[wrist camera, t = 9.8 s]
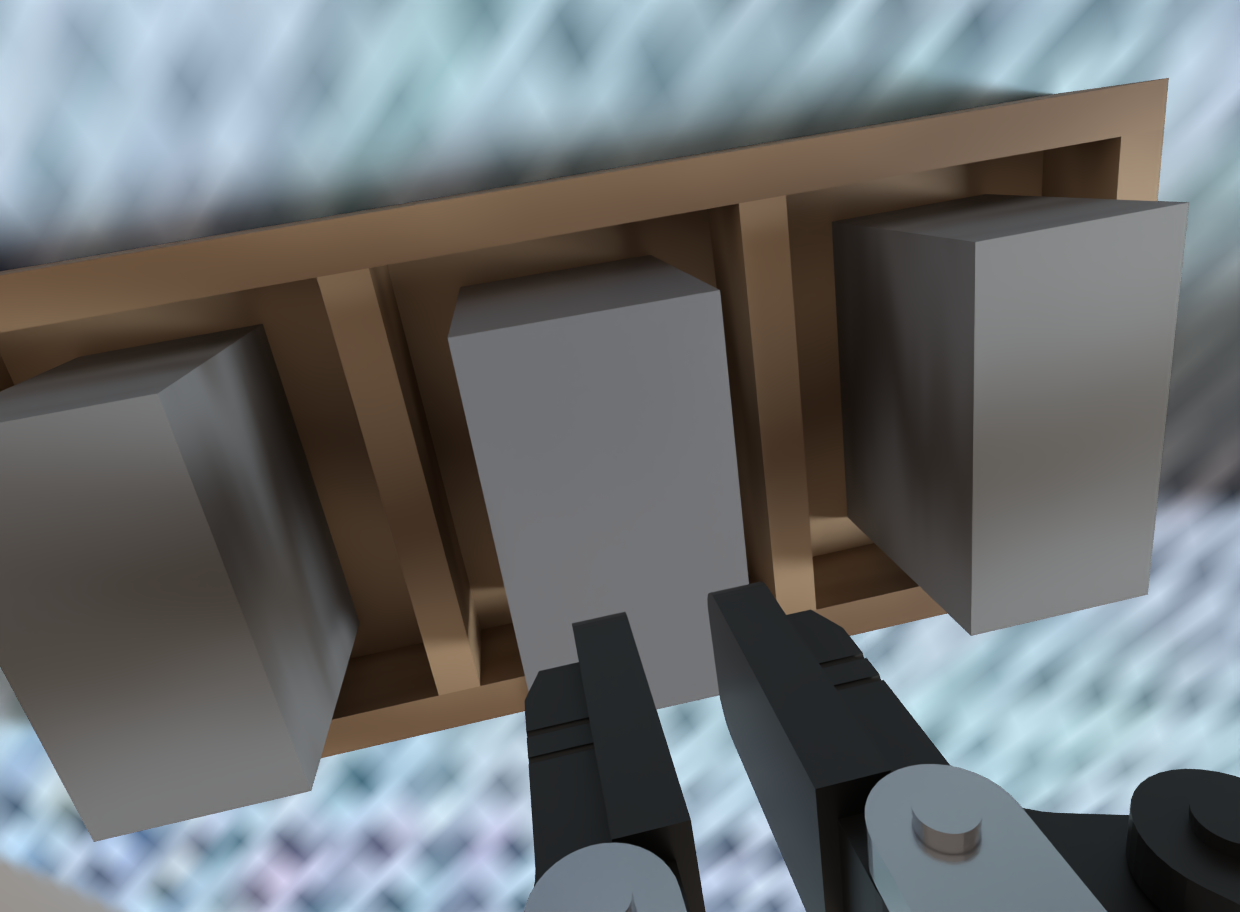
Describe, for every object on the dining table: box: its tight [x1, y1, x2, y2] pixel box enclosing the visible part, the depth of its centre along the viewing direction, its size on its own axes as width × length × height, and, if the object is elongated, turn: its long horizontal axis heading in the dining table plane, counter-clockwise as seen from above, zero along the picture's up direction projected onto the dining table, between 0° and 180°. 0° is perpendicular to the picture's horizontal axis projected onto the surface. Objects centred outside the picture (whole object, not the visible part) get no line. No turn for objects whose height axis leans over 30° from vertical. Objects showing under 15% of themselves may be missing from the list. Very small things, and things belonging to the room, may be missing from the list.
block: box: [448, 255, 749, 709], centre depth 17 cm, size 8×4×6 cm, turn 9°
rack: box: [0, 78, 1189, 842], centre depth 17 cm, size 12×26×7 cm, turn 99°
